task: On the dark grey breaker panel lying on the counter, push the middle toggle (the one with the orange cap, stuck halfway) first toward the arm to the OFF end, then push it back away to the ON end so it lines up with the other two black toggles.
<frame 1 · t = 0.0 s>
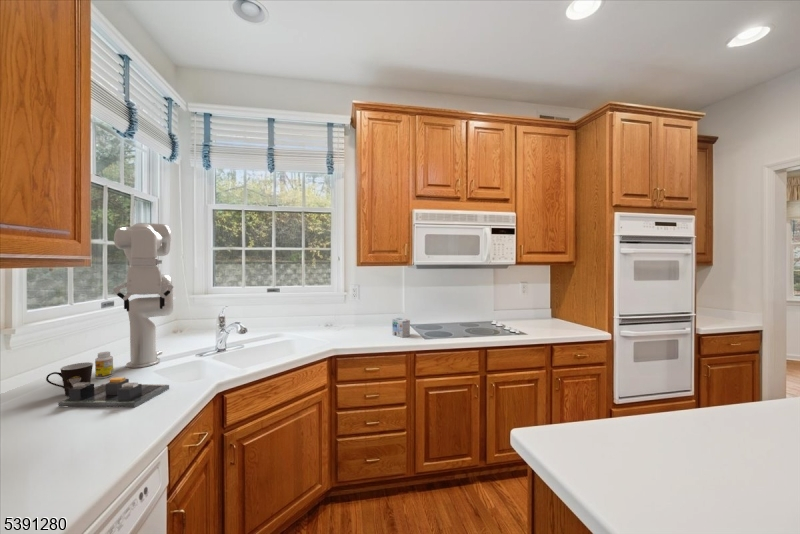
hand: (144, 309, 120), 31 cm above the countertop, tool pointing down, fingers open, 9 cm apart
light bulb box: (401, 335, 215), on the countertop
panel: (117, 397, 118), on the countertop
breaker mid: (117, 385, 118), point 4 cm above the countertop, slide at 0.0 cm
supplement bottle: (104, 377, 139), on the countertop
coffee mug: (72, 393, 121), on the countertop
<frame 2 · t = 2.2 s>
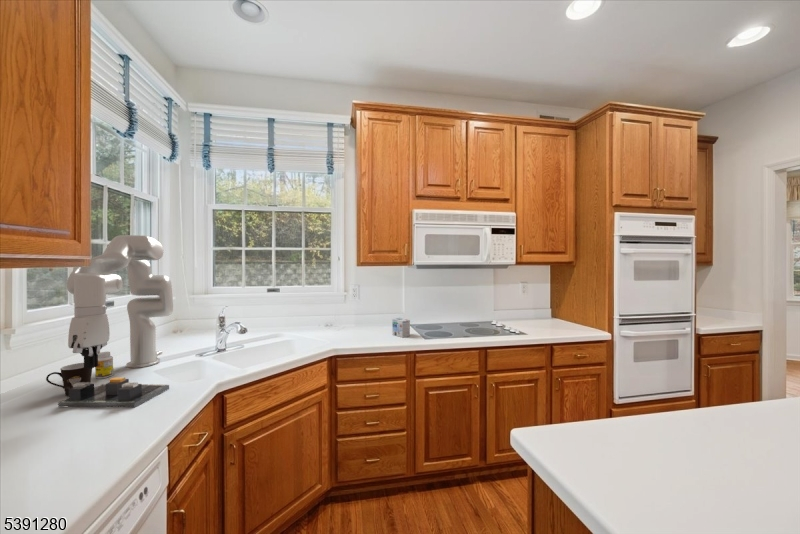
hand: (90, 367, 107), 14 cm above the countertop, tool pointing down, fingers closed
nothing on the countertop moved.
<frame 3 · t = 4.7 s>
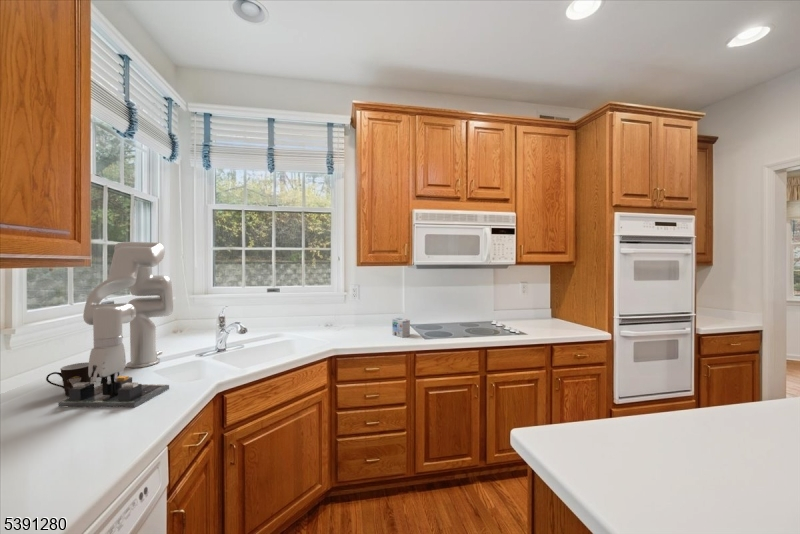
hand: (109, 394, 114), 2 cm above the countertop, tool pointing down, fingers closed
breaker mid: (121, 383, 119), point 4 cm above the countertop, slide at -1.6 cm, touching gripper
everything else where it was.
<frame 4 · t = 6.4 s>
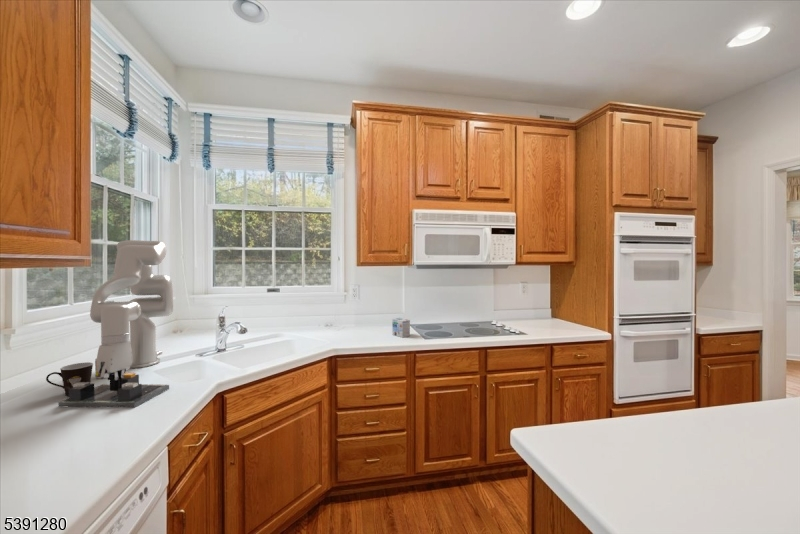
hand: (116, 389, 117), 3 cm above the countertop, tool pointing down, fingers closed
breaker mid: (128, 380, 122), point 4 cm above the countertop, slide at -4.6 cm
everything else where it was.
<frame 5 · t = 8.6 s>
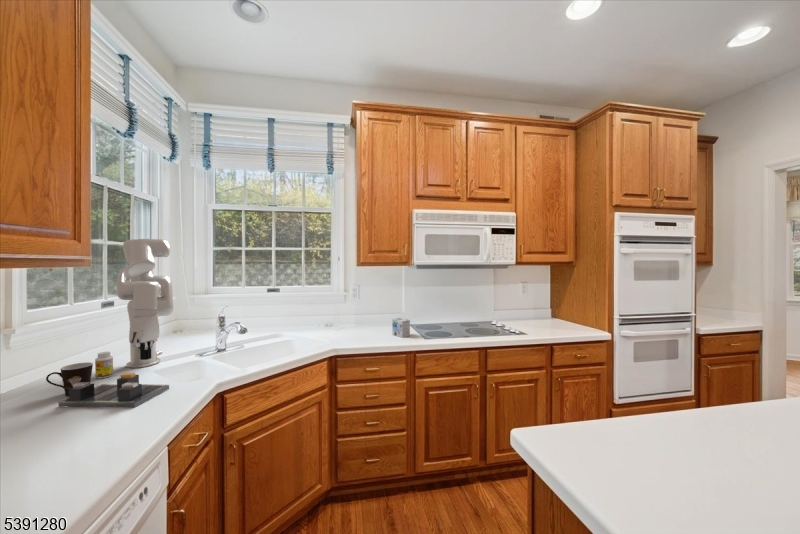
hand: (145, 359, 130), 10 cm above the countertop, tool pointing down, fingers closed
nothing on the countertop moved.
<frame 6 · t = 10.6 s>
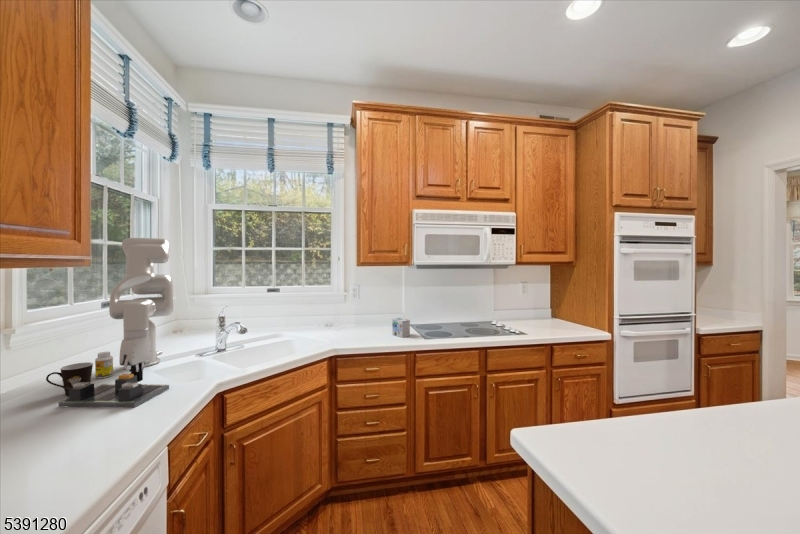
hand: (137, 381, 126), 3 cm above the countertop, tool pointing down, fingers closed
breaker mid: (126, 381, 121), point 4 cm above the countertop, slide at -3.7 cm, touching gripper
everything else where it was.
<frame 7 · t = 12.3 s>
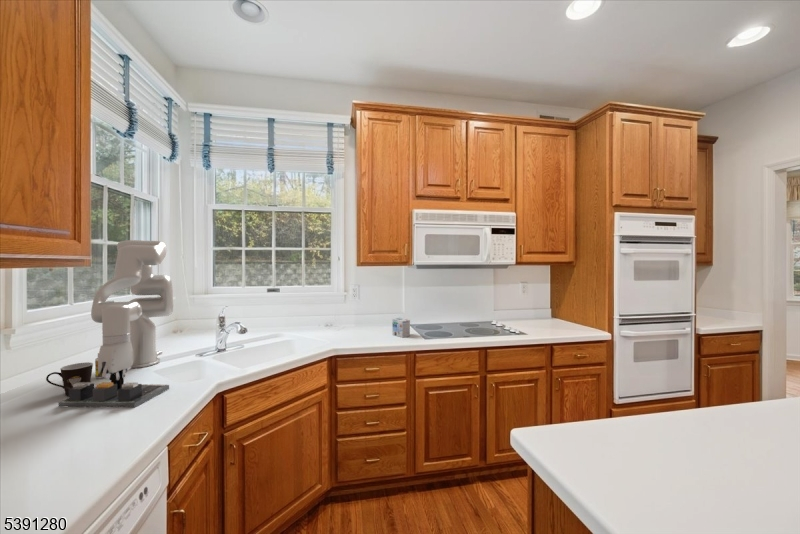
hand: (117, 389, 118), 3 cm above the countertop, tool pointing down, fingers closed
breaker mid: (105, 390, 113), point 4 cm above the countertop, slide at 4.7 cm, touching gripper
everything else where it was.
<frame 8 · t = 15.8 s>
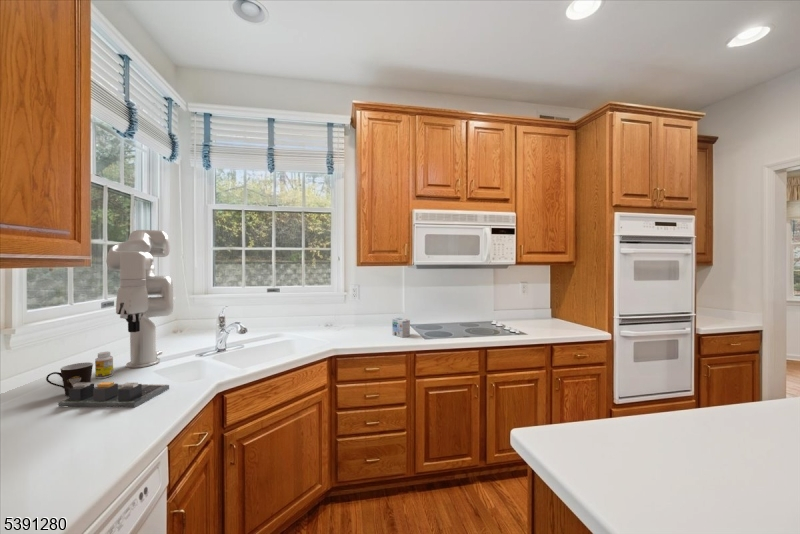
hand: (133, 331, 125), 22 cm above the countertop, tool pointing down, fingers closed
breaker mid: (105, 390, 113), point 4 cm above the countertop, slide at 4.6 cm
everything else where it was.
at the end: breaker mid slide at 4.6 cm; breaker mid touching nothing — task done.
